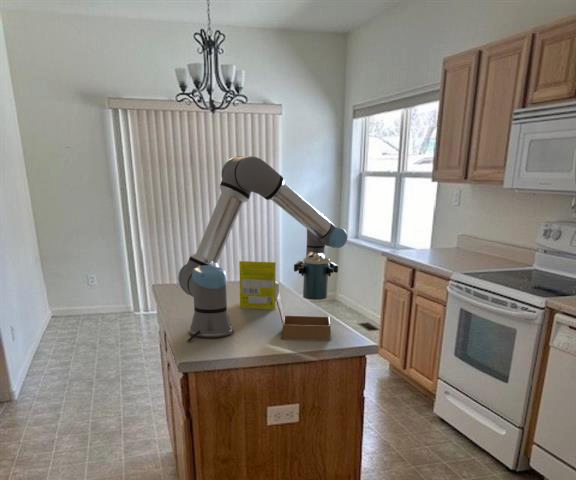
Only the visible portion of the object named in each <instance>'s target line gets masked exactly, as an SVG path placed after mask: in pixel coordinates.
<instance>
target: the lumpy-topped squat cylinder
mask: <svg viewBox="0 0 576 480" xmlns="http://www.w3.org/2000/svg"><path fill="white" fill-rule="evenodd" d="M278 293H279V294H280V283H279V282H278V281H277V280H275V301H276V300H277V296H278Z"/></svg>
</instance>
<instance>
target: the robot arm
mask: <svg viewBox="0 0 576 480" xmlns="http://www.w3.org/2000/svg"><path fill="white" fill-rule="evenodd" d="M219 189H220V194H219V197H218V200H217V202H216V204H215V206H214V208H213V212H212V214H211V216H210V219H209V221H208V223H207V225H206V228H205V231H204V233H203V235H202V237H201V241H200V243H199V245H198V247H197V250H196V252H195V253H194V254H191V255H189V258H188V260H187V263H186V264H183V266H182V267H181V268H180V269H179V272H178V275H177V281H178V285H179V286H180V288H181V289H182V290H183V292H184V293H186V294H187V295H189V296H191V297H193V307H194V312H193V317H192V322H191V324H190V326H189V327H190V328H189V330H190V331H189V332H190V334H191V336H190V337H189V338H188V339H187V342H191V341H192V340H193V339H195V338H196V337H197V338H202V339H217V338H218V339H219V338H224V337H228V336H231V334H233V325H232V324H231V320H230V317H229V313H228V308H227V304H228V301H227V281H228V279H227V274H226V271H225V270H224V269H223V268H221V267H219V265H218V262H219V260H220V258H221V256H222V253H223V251H224V248H225V246H226V243H227V241H228V238H229V236H230V234H231V233H232V230H233V228H234V226H235V225H234V224H235V223H236V220H237V218H238V216H239V213H240V211H241V209H242V206H243V204H244V203H247V202H249V200H250V198H251V195H252V194H253V193H254V194H257V195H259V196H261V197H262V198H264V200H266V201H270V200H271V202H273V203H274V204H275V205H277V206H278V207H279V208H281V210H283V211H284V212H286V213H287V214H289V216H291V217H292V219H294V220H296V221H297V222H298V223H299V224H300V225H302V226H303V227H304V228H306V253H305V258H308V257H313V255H314V254H315V253H318V254H319V255H320V257H322V258H325V254H326V253H325V251H326V246H327V247H331V248H333V249H334V248H336V249H341V248H343V247H344V246H345V245H346V243H347V241H348V233H347V231H346V230H345V229H344V228H342V227H339V226H336V225H335V224H334V223H333V222H332V221H330V220H329V219H328V218H327V217H326V216H324V214H323V213H321V212H320V211H319V210H317V209H316V208H315V207H314V206H312V204H310V203H309V202H308V201H307V200H306V199H304V198H303V196H301V195H300V194H299V193H297V192H296V191H295V190H294V189H293V188H292V187H291V186H289V185H288V184H287V183H286V182H285V179H284V177H283V176H282V175H281V174H280V173H279V172H277V170H276V169H274V168H273V167H272V166H271V165H269V164H268V163H267V162H265V160H263V159H261V158H260V157H258V156H252V155H251V156H250V155H249V156H244V155H238V156H234V157H231V158H229V159H228V160H226V162H225V163H224V164H223V166H222V169H221V181H220V184H219ZM293 272H298V275H301V276H303V277H304V262H303V260H298V261H297V262H295V263H294V264H293ZM338 272H339V265H338V264H336V263H335V262H334V261H331V260H330V261H329V265H328V277H331V275H332V274H333V273H335V274H336V273H338Z"/></svg>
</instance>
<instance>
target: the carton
mask: <svg viewBox="0 0 576 480" xmlns="http://www.w3.org/2000/svg"><path fill="white" fill-rule="evenodd" d="M282 339H283V340H284V339H285V340H317V341H318V340H320V341H321V340H322V341H330V340H331V321H330V316H318V315H317V316H315V315H314V316H313V315H307V316H306V315H284V321H283V323H282Z"/></svg>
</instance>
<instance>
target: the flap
mask: <svg viewBox="0 0 576 480" xmlns="http://www.w3.org/2000/svg"><path fill="white" fill-rule="evenodd" d="M275 302H276V304H277V309H278V312H279V313H278V314H279V317H280V320H281V323H282V324H283V321H284V316H285V315H286V314H285V309H284V306H283V302H282V298H281V294H280V292H279V293H278V296H277V300H275Z"/></svg>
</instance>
